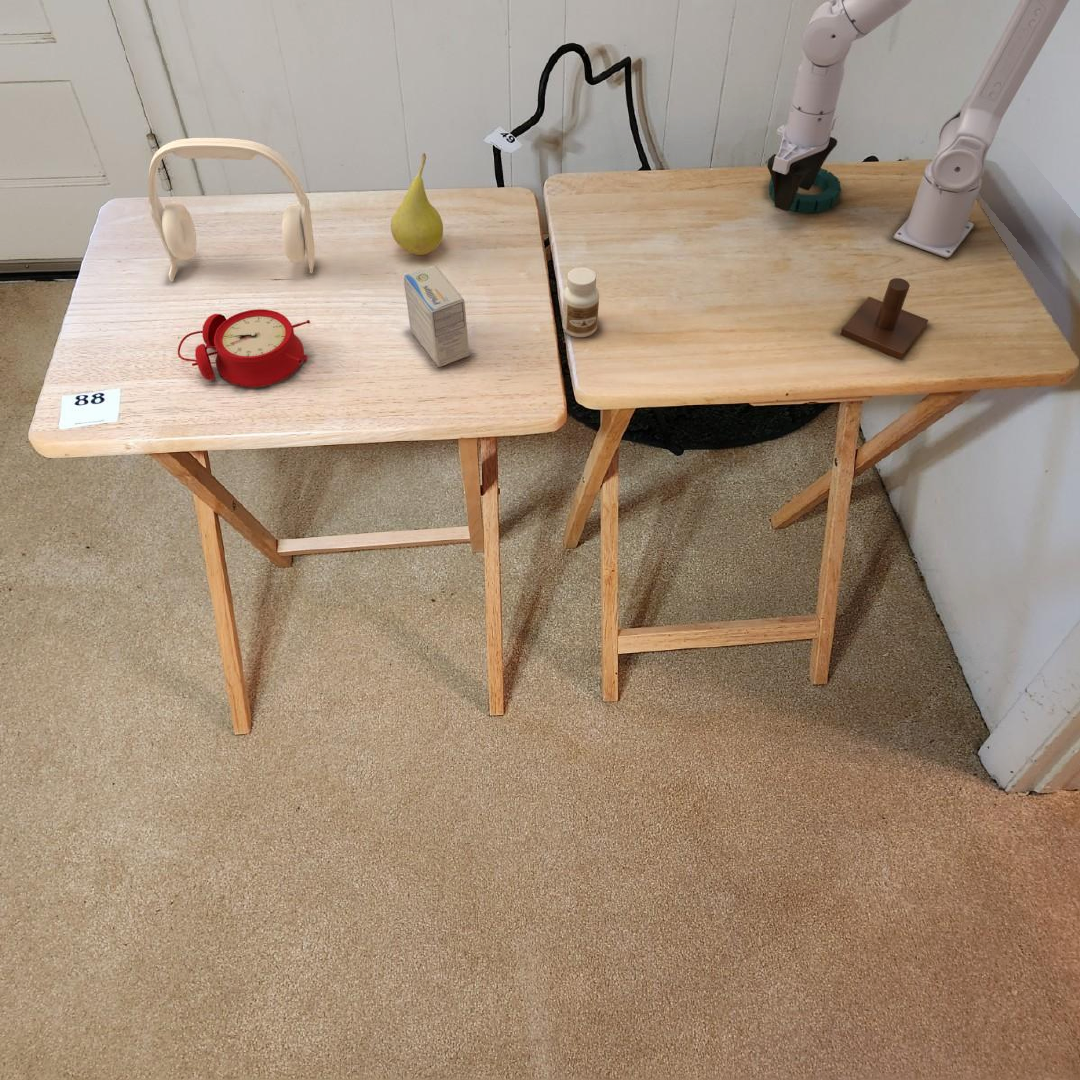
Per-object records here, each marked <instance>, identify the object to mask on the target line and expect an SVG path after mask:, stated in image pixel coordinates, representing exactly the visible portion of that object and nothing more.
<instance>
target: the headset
mask: <svg viewBox="0 0 1080 1080" xmlns="http://www.w3.org/2000/svg"><path fill="white" fill-rule="evenodd" d="M170 154H173V155H175V156H176V157H179V158H182V159H201V160H203V159H205V160H207V159H209V160H210V159H211V160H212V159H215V160H235V161H237V160H239V161H250V160H253V159H256V158H257V156H258V155H259V156H260V157H262V158H265V159H266V160H268V161H269V162H271V163H272V164H273V165H274V166H275V167H276V168H277V169H278V170H279V171H280V172H281V173H282V175H283V176H284V177H285V179H286V180H287V182H288V183H289V185H290V187H291V188H292V190H293V192H294V194H295V197H296V198H297V200H298V202H299V205H298V204H296V203H291V204H288V205H287V206H286V207H285V209H284V211H283V215H282V223H281V237H282V238H281V239H282V246H283V247H282V248H283V252H284V254H285V257H286V258H287V260H288V261H290V262H291V263H295V264H296V263H300V262H302V261H303V260H304V258H305V256H306V258H307V261H308V265H309V266H308V268H309V273H310V274H313V273H314V266H315V258H316V252H315V251H316V250H315V241H314V232H313V223H312V222H313V221H312V212H311V207H310V206H311V205H310V200H309V198H308V196H307V194H306V192H305V189H304V187H303V186H302V183H301V182H300V180H299V178H298V176H297V174H296V173H295V171H294V169H293V168H292V167H291V165H290V164H289V163H288V162H287V160H286V159H285V158H284V157H283V156H282V155H281V154H280V153H278V152H277V151H276V150H274V149H273V148H271V147H269V146H267V145H265V144H263V143H260V142H257V141H252V140H247V139H241V138H226V137H190V138H181V139H176V140H173V141H170V142H168V143H166V144H164V145H162V146H161V147H160V148H159V149H157V150H156V152H155V153H154V154H153V156H152V158H151V162H150V165H149V168H148V182H147V183H148V187H147V188H148V189H147V190H148V204H149V212H150V216H151V218H152V221H153V223H154V226H155V229H156V231H157V233H158V235H159V238H160V240H161V243H162V245H163V247H164V249H165V252H166V254H167V257H168V260H169V264H170V265H169V266H170V268H169V271H168V279H169V281H170V282H174V281H175V277H176V275H177V271H178V268H179V263H180V261H188V260H190V259H192V258H193V257H194V255H195V254H196V250H197V232H196V228H195V227H196V226H195V223H194V220H193V217H192V215H191V213H190V211H189V210H188V208H187V207H186V206H185V205H184V204H183V203H181V202H178V201H170V202H168V203H167V204H165V206H164V205H163V203H162V201H161V199H160V197H159V196H158V186H157V185H158V183H157V180H158V172H159V171H158V170H159V167H160V163H161V162H162V160H163V159H164V158H165V157H167V156H168V155H170Z"/></svg>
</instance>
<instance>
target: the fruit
mask: <svg viewBox="0 0 1080 1080" xmlns="http://www.w3.org/2000/svg"><path fill="white" fill-rule="evenodd" d="M421 158H422V159H421V164H420V167H419V170H418V173H417V175H416V176H415V177H414V178H413V179H412V182H411V184H410V186H409V188H408V190H407V192H406V194H405V196H404V198H403V200H402V202H401V204H400V205H399V207H398V208H397V209H396V211H395V212H394V213H393V215H392V217H391V219H390V233H391V235H392V238H393V239H394V241H395V242H396V244H397V245H398V246H399V247H400V248H402V249H403V250H404V251H405V252H407V253H409V254H411V255H416V256H424V255H427V254H430V253H431V252H433V251H434V250H435V249H437V248H438V247H439V245H440V243H441V242H442V240H443V235H444V224H443V220H442V218H441V215H440V213H439V211H438V210H437V209H436V208H435V207H434V206H433V205H432V204H431V203H430V200H429V199H428V196H427V192H426V190H425V185H424V180H423V177H422V176H423V171H424V166H425V164H426V160H427V155H426V153H425V152H423V153H422V154H421Z"/></svg>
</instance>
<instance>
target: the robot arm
mask: <svg viewBox="0 0 1080 1080" xmlns="http://www.w3.org/2000/svg"><path fill="white" fill-rule="evenodd" d="M911 2H912V0H828V1H826V2H824V3H822V4H820V6H818V7H817V8H816V10H815V11H814V12H813V14H812V16H811V18H810V20H809V22H808V24H807V26H806V28H805V30H804V33H803V37H802V41H801V43H802V50H803V51H802V54H801V63H800V64H799V66H798V70H797V74H796V79H795V84H794V88H793V93H792V98H791V103H790V109H789V113H788V119H787V123H786V124H782V125H780V126H779V127H778V128H777V130H776V135H777V136H779V137H781V143H780V146H779V151H778V153H777V154H776V153H774V154H772V155H771V156H770V157H769V158H768V160H767V165H766V168H767V169H768V172H769V175H770V176H771V177H772V181H773V188H774V200H773V204H774V207H775V208H777V209H779V210H781V211H785V212H788V211H790V210H789V209H790V208H791V206H792V204H793V202H794V199H795V196H796V194H797V193H798V191H799V189H802V190H805V191H810V190H811V188H812V187H813V183H814V181H815V179H816V177H817V175H818V173H819V171H820V168H822V166H823V165H824V163H825V161H826V160H827V158H828V156H829V155H830V154H831V152H833V150H834V149H835V148H836V147H837V145H838V139H837V138H835V137H832V136H831V134H832V131H833V130H834V129H835V126H836V125H835V124H836V121H837V115H835V113H836V108H837V104H838V100H839V96H840V92H841V89H842V84H843V81H844V80H843V79H844V76H845V65H846V64H845V63H846V59H847V56H848V55H849V52H850V50H851V48H852V44H853V42H854V41H856V40H859V39H863V38H865V37H866V36H867V35H868V34H870V33H871V32H872V31H874V30H875V29H877V28H878V27H879V26H881V25H883V24H884V23H885V22H886V21H888V20H889V19H890V18H892V17H893V16H894V15H896V14H897V13H898V12H900V11H901V10H903V9H904V8H905V7H907V6H908V5H910V3H911ZM1069 2H1070V0H1019V2H1018V4H1017V5H1016V8H1015V9H1014V11H1013V14H1012V15H1011V17H1010V18H1009V21H1008V23H1007V25H1006V26H1005V29H1004V30H1003V32H1002V34H1001V36H1000V38H999V40H998V42H997V43H996V46H995V47H994V49H993V51H992V53H991V55H990V57H989V59H988V60H987V62H986V64H985V66H984V68H983V70H982V71H981V74H980V75H979V78H978V79H977V81H976V83H975V85H974V87H973V89H972V91H971V93H970V94H969V95H968V96H967V97H966V98H965V99H964V101H963V102H962V105H961V107H960V108H959V109H958V111H956V112H955V114H953V115H952V116H951V117H949V118H948V119H947V120H946V121H945V122H944V124H943V125H942V126H941V129H940V131H939V136H938V143H937V148H936V152H935V156H934V158H933V159H932V160H931V161H930V162H928V163H927V164H926V166H925V169H924V171H923V175H922V178H921V180H920V184H919V187H918V189H917V192H916V194H915V198H914V201H913V204H912V207H911V210H910V213H909V216H908V218H907V219H906V220H905V221H904V223H903V224H902V225H901V226H900V228H899V229H898V230H897V231H896V232H895V233H894V235H893V239H894V240H896V241H899V242H902V243H905V244H907V245H910V246H912V247H915V248H918V249H920V250H924V251H926V252H930V253H932V254H934V255H937V256H940V257H943V258H945V259H947V258H948V259H949V258H950V257H951V256H952V255H953V254H954V252H955V251H956V250H957V249H958V248H959V246H960V245H961V244H962V242H964V240H965V238H966V237H967V236H968V234H969V233H970V232H971V230H972V229H973V228H974V223H973V222H972V221H969V218H970V217H971V216H970V215H971V213H972V211H973V208H974V206H975V203H976V200H977V198H978V195H979V193H980V190H981V188H982V183H983V176H984V173H985V171H986V159H987V154H988V152H989V150H990V148H991V146H992V144H993V142H994V140H995V137H996V134H997V132H998V130H999V127H1000V124H1001V122H1002V119H1003V117H1004V116H1005V114H1006V112H1007V111H1008V108H1009V107H1010V105H1011V103H1012V102H1013V100H1014V98H1015V97H1016V95H1017V93H1018V91H1019V89H1020V87H1022V84H1023V83H1024V81H1025V79H1026V77H1027V75H1028V73H1029V71H1030V70H1031V69H1032V67H1033V65H1034V63H1035V62H1036V59H1038V56H1039V54H1040V53H1041V51H1042V50H1043V47H1044V46H1045V44H1046V42H1047V40H1048V39H1049V37H1050V35H1051V34H1052V32H1053V30H1054V28H1055V26H1056V25H1057V23H1058V21H1059V20H1060V17H1061V16H1062V14H1063V12H1064V11H1065V9H1066V7H1067V5H1068V3H1069ZM771 177H770V178H771Z"/></svg>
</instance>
